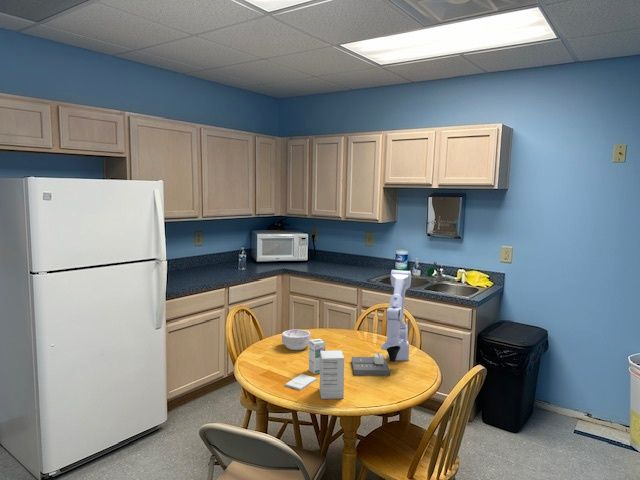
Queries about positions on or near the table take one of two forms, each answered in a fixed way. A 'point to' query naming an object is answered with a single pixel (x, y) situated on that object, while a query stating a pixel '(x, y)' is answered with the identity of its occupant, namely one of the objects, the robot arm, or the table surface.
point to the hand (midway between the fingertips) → (392, 361)
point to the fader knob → (378, 359)
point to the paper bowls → (296, 339)
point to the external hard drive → (300, 382)
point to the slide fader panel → (369, 366)
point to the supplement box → (331, 374)
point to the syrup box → (315, 354)
